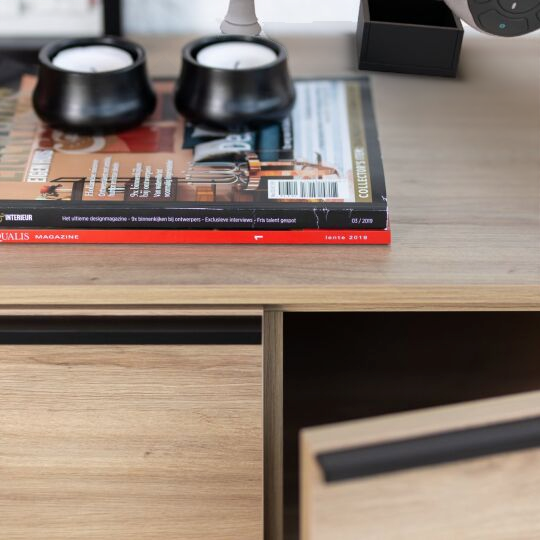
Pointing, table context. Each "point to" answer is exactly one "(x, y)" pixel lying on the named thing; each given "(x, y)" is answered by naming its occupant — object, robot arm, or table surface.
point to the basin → (409, 37)
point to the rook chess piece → (241, 19)
